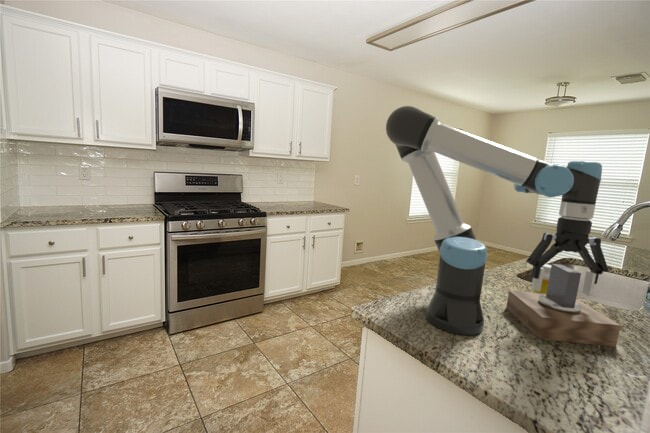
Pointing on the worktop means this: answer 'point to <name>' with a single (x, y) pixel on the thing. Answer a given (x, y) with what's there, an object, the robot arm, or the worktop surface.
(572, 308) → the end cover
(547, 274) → the supplement bottle
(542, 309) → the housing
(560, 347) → the worktop surface
